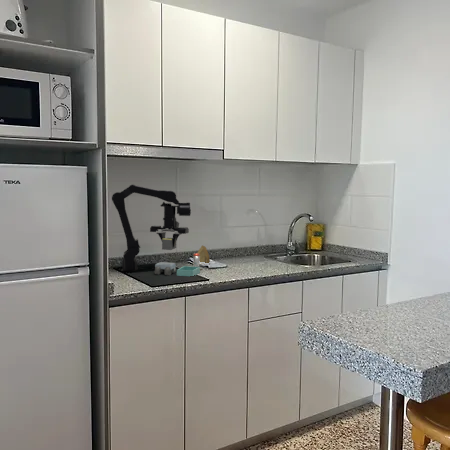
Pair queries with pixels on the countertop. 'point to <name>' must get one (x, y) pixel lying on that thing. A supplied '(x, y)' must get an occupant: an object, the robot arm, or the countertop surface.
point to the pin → (196, 259)
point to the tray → (188, 271)
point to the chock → (168, 244)
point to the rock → (203, 254)
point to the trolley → (165, 268)
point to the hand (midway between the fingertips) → (169, 246)
